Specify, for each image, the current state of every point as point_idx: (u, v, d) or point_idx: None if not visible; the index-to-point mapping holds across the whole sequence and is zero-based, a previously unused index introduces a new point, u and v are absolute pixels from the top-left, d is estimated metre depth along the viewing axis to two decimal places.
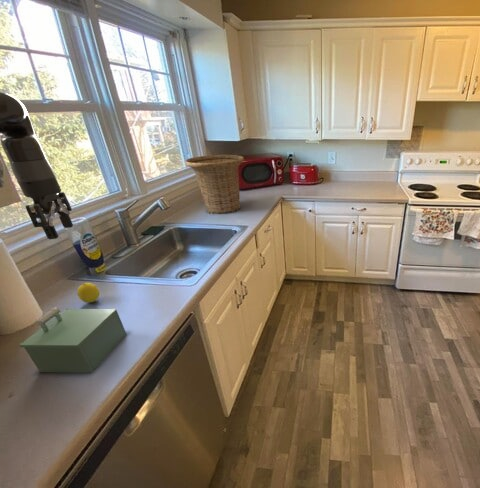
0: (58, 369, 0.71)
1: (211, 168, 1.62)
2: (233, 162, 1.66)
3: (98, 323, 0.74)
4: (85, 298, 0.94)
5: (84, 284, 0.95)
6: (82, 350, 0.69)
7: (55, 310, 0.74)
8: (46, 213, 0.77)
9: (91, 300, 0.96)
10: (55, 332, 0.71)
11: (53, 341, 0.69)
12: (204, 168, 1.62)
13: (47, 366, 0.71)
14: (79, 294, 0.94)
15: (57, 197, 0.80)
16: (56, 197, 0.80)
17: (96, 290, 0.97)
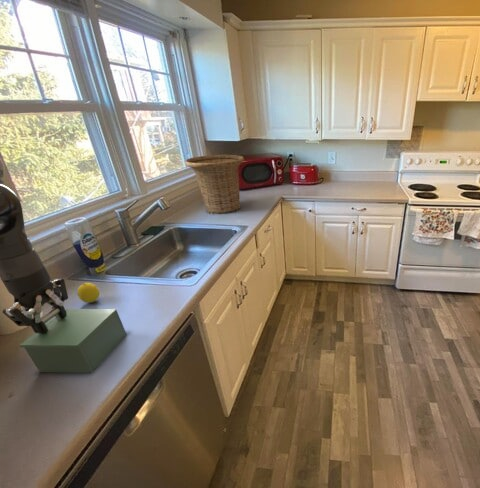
0: (58, 369, 0.71)
1: (211, 168, 1.62)
2: (233, 162, 1.66)
3: (98, 323, 0.74)
4: (85, 298, 0.94)
5: (84, 284, 0.95)
6: (82, 350, 0.69)
7: (55, 310, 0.74)
8: None
9: (91, 300, 0.96)
10: (55, 332, 0.71)
11: (53, 341, 0.69)
12: (204, 168, 1.62)
13: (47, 366, 0.71)
14: (79, 294, 0.94)
15: (49, 285, 0.72)
16: (48, 286, 0.71)
17: (96, 290, 0.97)
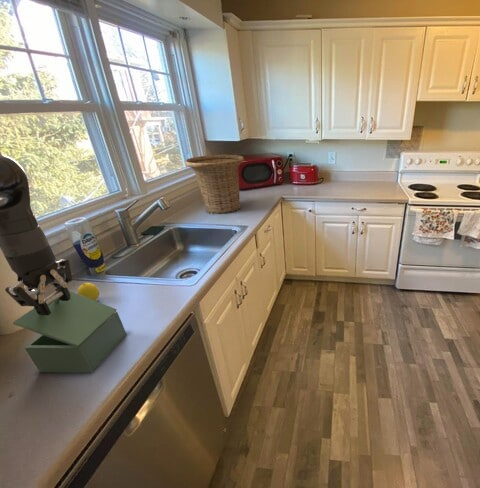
0: (58, 369, 0.71)
1: (211, 168, 1.62)
2: (233, 162, 1.66)
3: (99, 322, 0.74)
4: None
5: (84, 284, 0.95)
6: (82, 350, 0.69)
7: (60, 294, 0.71)
8: (34, 287, 0.66)
9: None
10: (53, 319, 0.69)
11: (51, 330, 0.67)
12: (204, 168, 1.62)
13: (47, 366, 0.71)
14: None
15: (54, 265, 0.69)
16: (52, 266, 0.69)
17: (96, 290, 0.97)
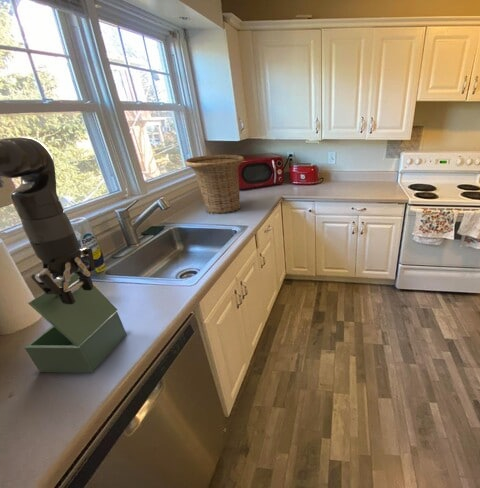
0: (58, 369, 0.71)
1: (211, 168, 1.62)
2: (233, 162, 1.66)
3: (100, 322, 0.74)
4: None
5: None
6: (82, 350, 0.69)
7: (82, 285, 0.70)
8: (58, 275, 0.64)
9: None
10: (64, 307, 0.68)
11: (60, 321, 0.66)
12: (204, 168, 1.62)
13: (47, 366, 0.71)
14: None
15: (78, 253, 0.67)
16: (76, 254, 0.67)
17: None
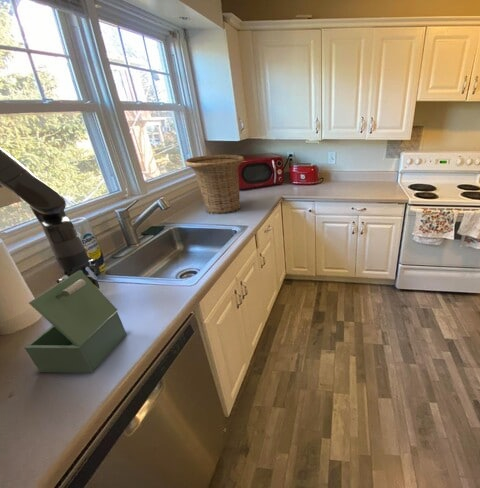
0: (58, 369, 0.71)
1: (211, 168, 1.62)
2: (233, 162, 1.66)
3: (100, 322, 0.74)
4: None
5: None
6: (82, 350, 0.69)
7: (83, 285, 0.70)
8: None
9: None
10: (65, 307, 0.68)
11: (61, 321, 0.66)
12: (204, 168, 1.62)
13: (47, 366, 0.71)
14: None
15: (87, 264, 0.95)
16: (86, 264, 0.94)
17: None
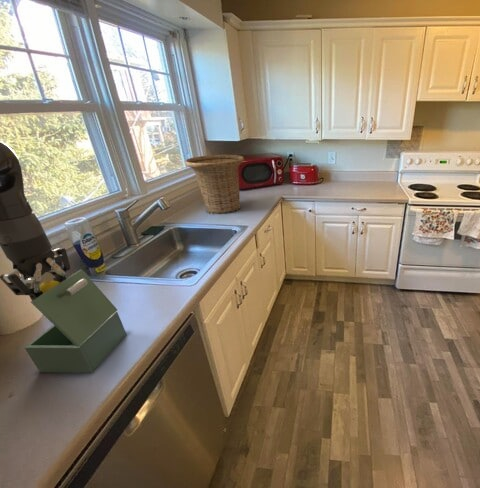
0: (58, 369, 0.71)
1: (211, 168, 1.62)
2: (233, 162, 1.66)
3: (100, 322, 0.74)
4: None
5: (46, 282, 0.68)
6: (82, 350, 0.69)
7: (85, 285, 0.70)
8: (30, 276, 0.64)
9: None
10: (66, 307, 0.68)
11: (62, 321, 0.66)
12: (204, 168, 1.62)
13: (47, 366, 0.71)
14: None
15: (50, 254, 0.68)
16: (48, 254, 0.67)
17: None
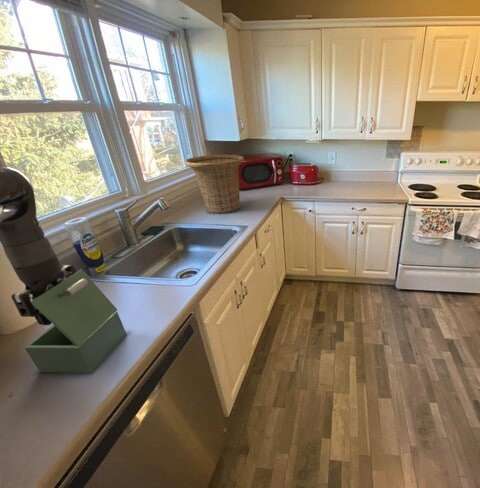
0: (58, 369, 0.71)
1: (211, 168, 1.62)
2: (233, 162, 1.66)
3: (100, 322, 0.74)
4: None
5: None
6: (82, 350, 0.69)
7: (85, 285, 0.70)
8: None
9: None
10: (66, 307, 0.68)
11: (62, 321, 0.66)
12: (204, 168, 1.62)
13: (47, 366, 0.71)
14: None
15: (60, 274, 0.70)
16: (59, 275, 0.70)
17: None
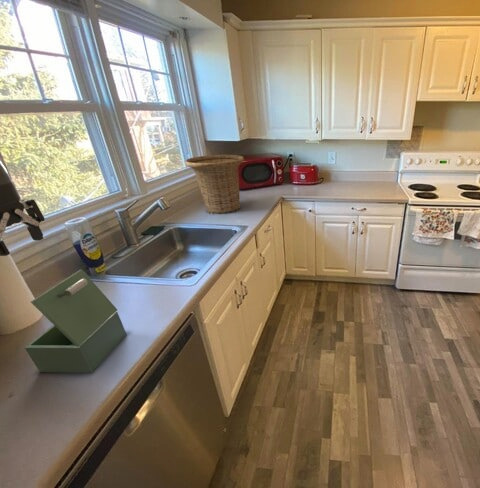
0: (58, 369, 0.71)
1: (211, 168, 1.62)
2: (233, 162, 1.66)
3: (100, 322, 0.74)
4: None
5: None
6: (82, 350, 0.69)
7: (85, 285, 0.70)
8: None
9: None
10: (66, 307, 0.68)
11: (62, 321, 0.66)
12: (204, 168, 1.62)
13: (47, 366, 0.71)
14: None
15: (19, 206, 0.68)
16: (17, 206, 0.68)
17: None
